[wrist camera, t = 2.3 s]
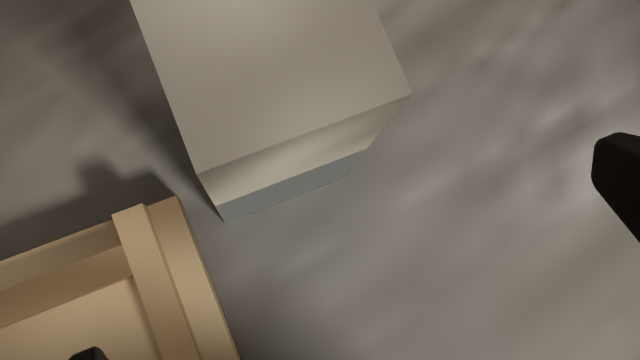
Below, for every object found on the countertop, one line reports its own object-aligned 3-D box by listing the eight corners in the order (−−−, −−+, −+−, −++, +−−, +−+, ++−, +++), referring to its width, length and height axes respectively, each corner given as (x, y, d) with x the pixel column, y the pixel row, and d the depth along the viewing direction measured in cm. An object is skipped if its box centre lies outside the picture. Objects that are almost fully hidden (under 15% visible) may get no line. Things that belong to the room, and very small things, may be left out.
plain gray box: (341, 178, 21) (412, 93, 12) (225, 223, 21) (195, 174, 11) (296, 67, 22) (327, -103, 12) (181, 107, 21) (115, -39, 11)
